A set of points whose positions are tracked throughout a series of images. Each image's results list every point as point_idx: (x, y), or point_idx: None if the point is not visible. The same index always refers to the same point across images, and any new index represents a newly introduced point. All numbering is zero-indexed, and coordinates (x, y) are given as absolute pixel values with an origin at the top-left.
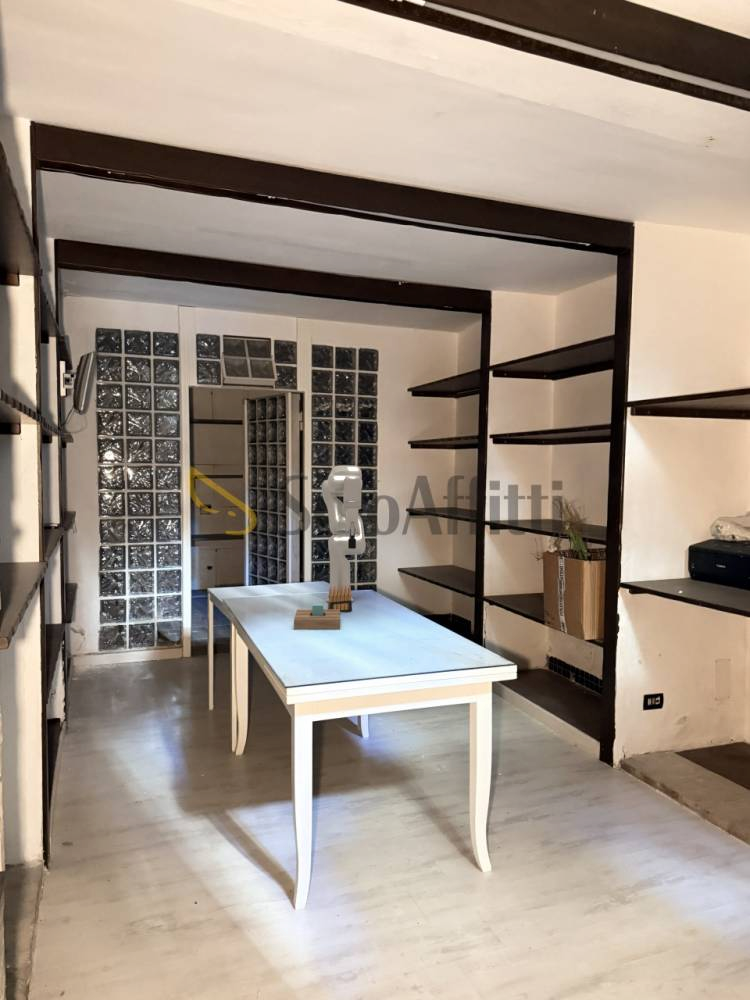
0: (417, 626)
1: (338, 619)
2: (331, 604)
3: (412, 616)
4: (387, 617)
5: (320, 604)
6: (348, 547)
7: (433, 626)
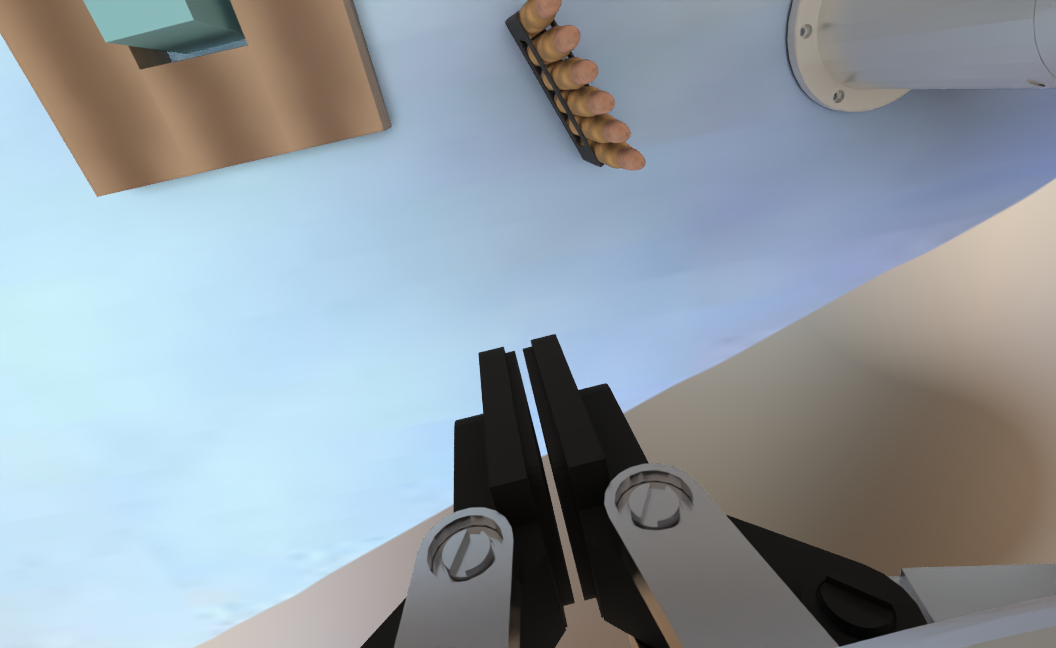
0: (355, 496)
1: (93, 186)
2: (518, 29)
3: None
4: None
5: (135, 4)
6: (481, 358)
7: (376, 541)
